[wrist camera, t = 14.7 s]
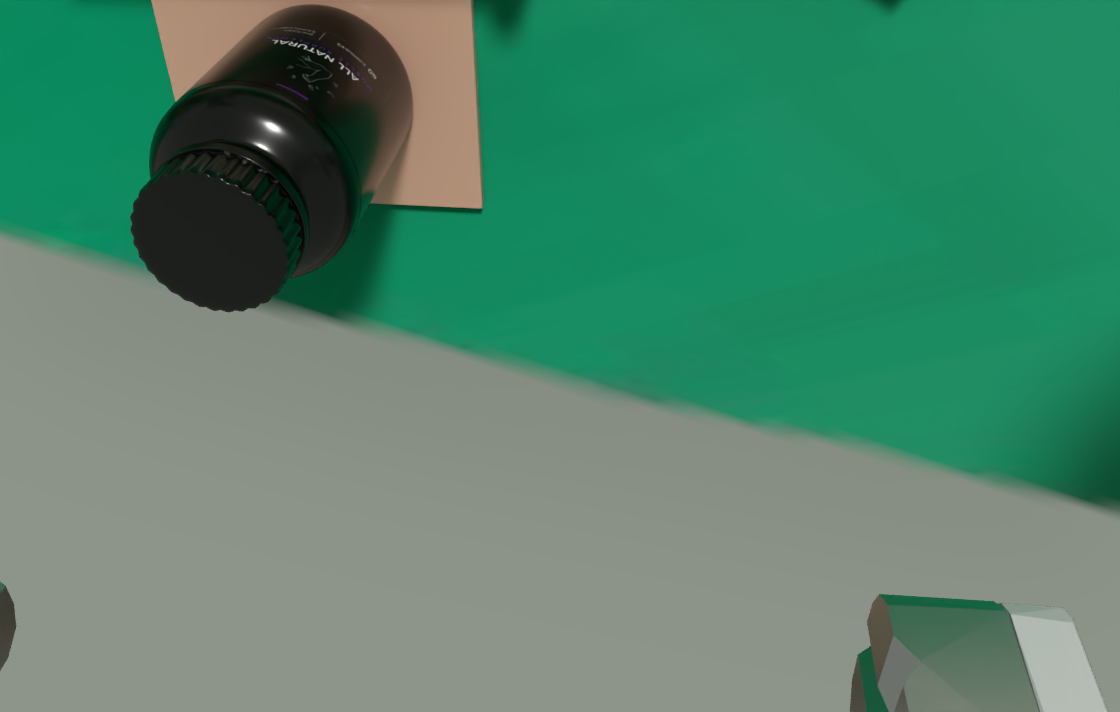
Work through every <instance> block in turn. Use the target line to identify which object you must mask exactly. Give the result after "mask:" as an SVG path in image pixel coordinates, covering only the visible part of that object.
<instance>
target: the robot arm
mask: <svg viewBox="0 0 1120 712" xmlns="http://www.w3.org/2000/svg"><path fill="white" fill-rule="evenodd" d="M867 625H868V630H869V636H870V643H871V646H870V647H869V648H868V649H866V650H864V651H863V652H861V653H860V654H858V657H857V661H856V665H855V670H854V674H853V678H852V688H851V702H850V712H1108V710H1107V707H1106V705H1105V702H1104V700H1103V697H1102V694H1101V692H1100V689H1099V686H1098V684H1097V681H1096V679H1095V676H1094V673H1093V671H1092V668H1091V666H1090V663H1089V660H1088V658H1087V655H1086V653H1085V650H1084V647H1083V645H1082V642H1081V639H1080V637H1079V634H1078V632H1077V629H1076V626H1075V624H1074V621H1073V618H1072V617H1071V616H1070V615H1069V614H1068V613H1067V612H1066V611H1065V610H1064V609H1063V608H1062V607H1050V606H1036V605H1023V604H1010V603H999V604H997V603H995V602H994V601H979V600H963V599H948V598H931V597H916V596H901V595H885V594H879V595H878V597H877V598H876V599H875V600H874V602H873V604H872V607H871V610H870V614H869V617H868V620H867ZM15 629H16V620H15V610H14V603H13V601H12V599H11V597H10V594H9V592H8V590H7V588H6V586H5V585H4V584H2V583H1V582H0V670H1V669H2V667H3V665H4V664H5V662H6V660H7V659H8V656H9V652H10V649H11V645H12V641H13V637H14V633H15Z"/></svg>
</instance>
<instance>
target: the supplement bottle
mask: <svg viewBox="0 0 1120 712" xmlns="http://www.w3.org/2000/svg"><path fill="white" fill-rule="evenodd" d="M412 113H413V97H412V89H411V84H410V80H409V77H408V74H407V71H406V69H405V66H404V64H403V62H402V60H401V59H400V57H399V55H398V54H397V52H396V51H395V49H394V48H393V47H392V45H391V44H390V43H389V42H388V40H387V39H386V38H385V37H384V36H383V35H382V34H381V33H380V32H379V31H378V30H376V29H375V28H374V27H373V26H372V25H370V24H369V23H367V22H366V21H364V20H363V19H361V18H359V17H358V16H356V15H354V14H352V13H349V12H347V11H345V10H342V9H339V8H335V7H331V6H326V5H319V4H305V5H296V6H291V7H288V8H284V9H282V10H279V11H277V12H275V13H273V14H272V15H270V16H268V17H267V18H265V19H264V20H263V21H261V22H260V23H259V24H258V25H257V26H255V27H254V28H253V29H252V30H251V31H250V32H249V33H248V34H247V35H245V36H244V37H243V38H242V39H241V40H240V41H239V42H238V43H237V44H236V45H235V46H234V47H233V48H232V49H231V50H230V51H229V52H228V53H227V54H226V55H224V56H223V57H222V58H221V59H220V60H219V61H218V62H217V63H216V64H215V65H214V66H213V67H212V68H211V69H210V70H209V71H208V72H207V73H206V74H205V75H203V76H202V77H201V78H200V79H199V80H198V81H197V82H196V83H195V84H194V85H193V86H192V87H191V88H190V89H189V90H188V91H187V92H186V93H185V94H184V95H183V96H181V97H180V98H179V99H178V100H177V101H176V102H175V103H174V104H173V106H172V107H171V108H170V109H169V110H168V111H167V113H166V114H165V115H164V116H163V118H162V119H161V121H160V123H159V124H158V126H157V129H156V131H155V133H154V136H153V139H152V143H151V148H150V157H149V169H150V178H151V179H150V180H149V182H148V183H147V184H146V185H145V186H144V187H143V188H142V189H141V190H140V193H139V197H138V198H137V199H136V200H135V201H134V203H133V210H134V211H133V213H132V214H131V216H130V218H131V221H132V226H131V233H132V234H133V236H134V245H135V247H136V248H137V249H138V252H139V257H140V258H141V260H142V261H143V262H144V263H145V264H146V267H147V269H148V271H150V272H151V273H152V274H154V275H155V277H156V279H157V280H158V282H160V283H162V284H164V285H165V286H166V287H167V288H168V289H169V290H170V291H171V292H172V293H175V294H178V295H179V296H180V297H181V298H183V299H184V300H186V301H190V302H193V303H194V304H196V305H198V306H199V307H207V308H209V309H211V310H213V311H218V310H223V311H225V312H232V311H234V310H237V311H244V310H246V309H248V308H256V307H258V306H259V305H260V304H261V303H267V302H268V301H269V300H270V299H271V297H272V296H274V295H276V294H278V293H279V292H280V290H281V288H282V287H283V285H284V284H285V283H286V282H287V280H288V279H289V278H293V277H297V276H301V275H304V274H307V273H310V272H312V271H314V270H317V269H318V268H320V267H322V266H324V265H325V264H327V263H328V262H329V261H331V260H332V259H333V258H334V257H335V256H336V255H337V254H338V253H339V252H340V251H341V250H342V249H343V247H344V246H345V245H346V243H347V242H348V241H349V239H350V237H351V236H352V234H353V233H354V231H355V229H356V227H357V225H358V224H359V222H360V220H361V218H362V217H363V215H364V213H365V211H366V209H367V208H368V206H369V204H370V202H371V200H372V199H373V197H374V195H375V193H376V191H377V190H378V188H379V186H380V184H381V182H382V181H383V179H384V177H385V175H386V173H387V172H388V170H389V168H390V166H391V164H392V163H393V161H394V159H395V157H396V156H397V154H398V152H399V150H400V148H401V146H402V144H403V142H404V140H405V138H406V136H407V133H408V130H409V127H410V124H411V119H412Z"/></svg>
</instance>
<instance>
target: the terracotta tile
mask: <svg viewBox="0 0 1120 712" xmlns="http://www.w3.org/2000/svg"><path fill="white" fill-rule="evenodd" d="M151 1H152V5H153V9H154V14H155V18H156V22H157V26H158V30H159V34H160V39H161V43H162V47H163V51H164V55H165V59H166V63H167V68H168V72H169V76H170V80H171V84H172V88H173V93H174V97H175V101H177V100H178V99H179V98H180V97H181V96H183V95H184V94H185V93H186V92H187V91H188V90H189V89H190V88H191V87H192V86H193V85H194V84H195V83H196V82H197V81H198V80H199V79H200V78H201V77H202V76H203V75H205V74H206V73H207V72H208V71H209V70H210V69H211V68H212V67H213V66H214V65H215V64H216V63H217V62H218V61H219V60H220V59H221V58H222V57H223V56H224V55H226V54H227V53H228V52H229V51H230V50H231V49H232V48H233V47H234V46H235V45H236V44H237V43H238V42H239V41H240V40H241V39H242V38H243V37H244V36H245V35H247V34H248V33H249V32H250V31H251V30H252V29H253V28H254V27H255V26H257V25H258V24H259V23H260V22H261V21H263V20H264V19H265V18H267V17H268V16H270V15H272V14H273V13H275V12H277V11H279V10H282V9H284V8H288V7H291V6H296V5H305V4H319V5H326V6H331V7H335V8H339V9H342V10H345V11H347V12H349V13H352V14H354V15H356V16H358V17H359V18H361V19H363V20H364V21H366V22H367V23H369V24H370V25H372V26H373V27H374V28H375V29H376V30H378V31H379V32H380V33H381V34H382V35H383V36H384V37H385V38H386V39H387V40H388V42H389V43H390V44H391V45H392V47H393V48H394V49H395V51H396V52H397V54H398V55H399V57H400V59H401V60H402V62H403V64H404V66H405V69H406V71H407V74H408V77H409V80H410V84H411V89H412V97H413V113H412V119H411V124H410V127H409V130H408V133H407V136H406V138H405V140H404V142H403V144H402V146H401V148H400V150H399V152H398V154H397V156H396V157H395V159H394V161H393V163H392V164H391V166H390V168H389V170H388V172H387V173H386V175H385V177H384V179H383V181H382V182H381V184H380V186H379V188H378V190H377V191H376V193H375V195H374V197H373V199H372V200H371V202H370V203H374V204H396V205H417V206H438V207H460V208H481V209H482V208H483V205H484V191H483V172H482V153H481V135H480V116H479V97H478V78H477V59H476V40H475V21H474V2H473V0H151Z"/></svg>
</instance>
